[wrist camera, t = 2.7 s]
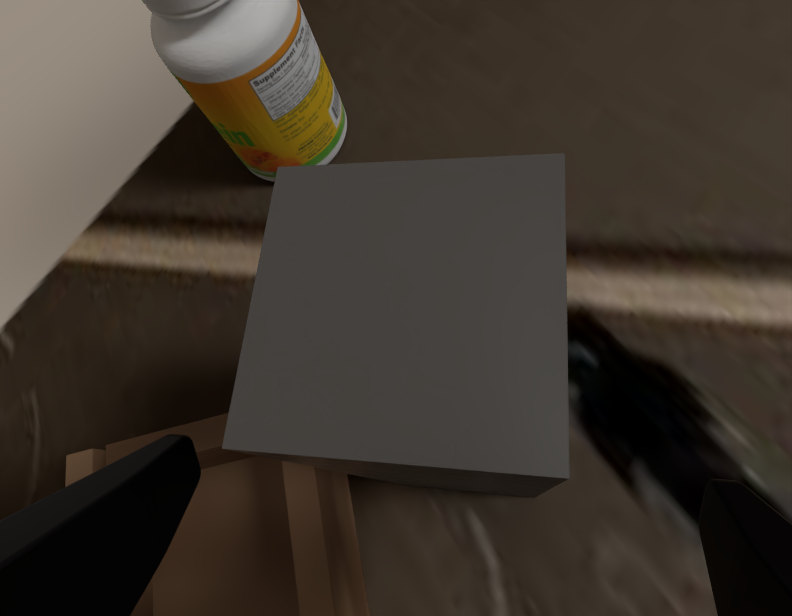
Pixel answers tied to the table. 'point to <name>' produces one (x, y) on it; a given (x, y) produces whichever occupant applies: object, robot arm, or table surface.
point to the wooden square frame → (250, 535)
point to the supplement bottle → (254, 78)
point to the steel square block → (412, 324)
